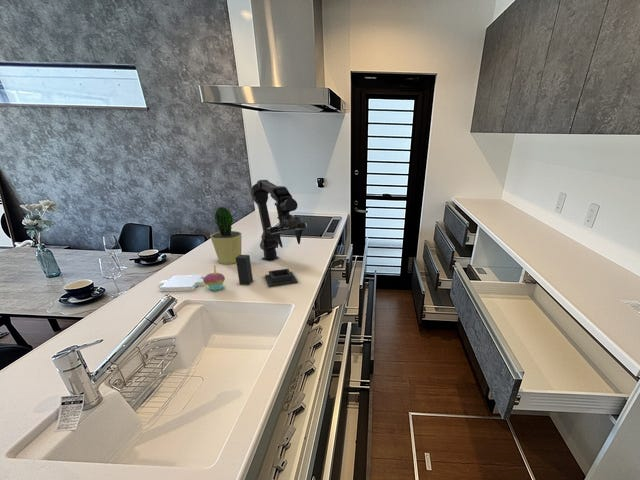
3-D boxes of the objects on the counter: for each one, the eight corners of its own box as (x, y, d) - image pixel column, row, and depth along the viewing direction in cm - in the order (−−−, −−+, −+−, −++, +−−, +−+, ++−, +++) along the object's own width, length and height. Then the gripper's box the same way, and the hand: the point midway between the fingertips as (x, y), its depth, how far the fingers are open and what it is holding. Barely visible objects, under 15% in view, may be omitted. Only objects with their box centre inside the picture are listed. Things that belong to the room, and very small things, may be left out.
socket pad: (265, 276, 148) (264, 270, 147) (291, 273, 154) (291, 266, 152) (269, 287, 138) (268, 280, 136) (297, 282, 143) (297, 276, 141)
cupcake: (230, 286, 138) (226, 261, 133) (216, 294, 130) (211, 268, 125) (215, 283, 140) (210, 259, 135) (200, 290, 133) (195, 265, 128)
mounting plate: (154, 291, 131) (153, 287, 130) (169, 279, 142) (168, 275, 142) (198, 290, 133) (197, 286, 132) (209, 278, 145) (208, 275, 144)
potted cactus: (208, 262, 164) (197, 206, 152) (230, 254, 177) (221, 202, 165) (230, 267, 159) (220, 209, 147) (251, 258, 172) (243, 205, 160)
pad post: (243, 280, 144) (239, 254, 139) (253, 280, 144) (249, 254, 139) (239, 284, 140) (235, 257, 135) (249, 284, 140) (245, 258, 134)
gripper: (271, 213, 133) (279, 248, 136) (308, 209, 145) (315, 241, 148) (262, 216, 142) (270, 249, 145) (298, 212, 153) (304, 242, 156)
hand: (290, 245), depth 148 cm, fingers open, 9 cm apart
